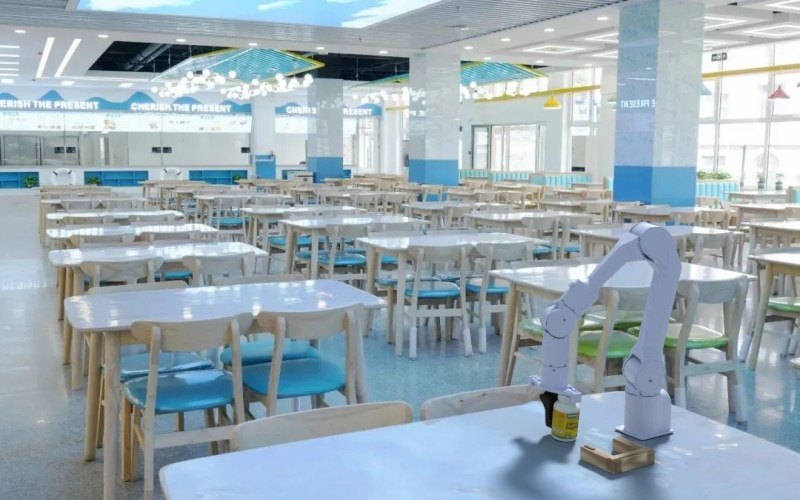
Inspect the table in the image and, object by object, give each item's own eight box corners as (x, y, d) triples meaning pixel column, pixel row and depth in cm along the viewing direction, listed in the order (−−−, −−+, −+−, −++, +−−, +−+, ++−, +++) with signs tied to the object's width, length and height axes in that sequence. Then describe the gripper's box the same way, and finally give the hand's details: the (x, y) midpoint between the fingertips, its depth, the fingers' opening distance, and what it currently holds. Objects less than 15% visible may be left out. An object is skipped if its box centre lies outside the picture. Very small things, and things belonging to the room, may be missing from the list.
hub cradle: (619, 448, 164) (620, 435, 164) (654, 463, 157) (654, 449, 156) (580, 458, 159) (580, 445, 159) (613, 474, 152) (614, 460, 151)
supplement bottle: (562, 428, 174) (567, 386, 172) (582, 438, 170) (587, 395, 168) (545, 434, 171) (549, 391, 169) (564, 445, 167) (569, 401, 165)
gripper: (518, 357, 176) (516, 419, 177) (563, 375, 163) (560, 440, 165) (544, 354, 179) (541, 414, 181) (590, 370, 167) (587, 435, 168)
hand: (552, 426), depth 173 cm, fingers closed, pressing on supplement bottle
